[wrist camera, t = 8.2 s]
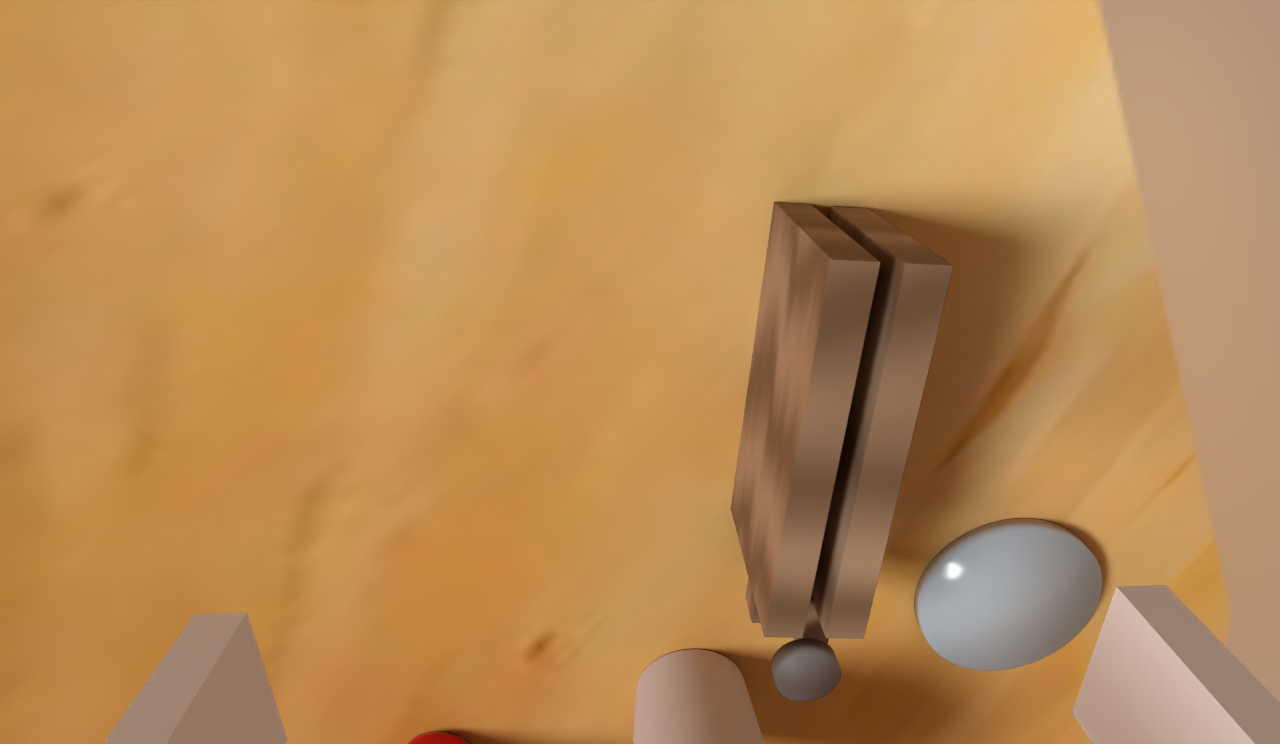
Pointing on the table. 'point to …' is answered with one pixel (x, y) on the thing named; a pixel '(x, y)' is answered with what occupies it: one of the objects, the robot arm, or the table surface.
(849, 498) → the tongs hinged jaw
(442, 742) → the beverage can
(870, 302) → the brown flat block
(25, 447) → the table surface
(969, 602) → the grey domed disc
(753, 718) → the coffee cup
